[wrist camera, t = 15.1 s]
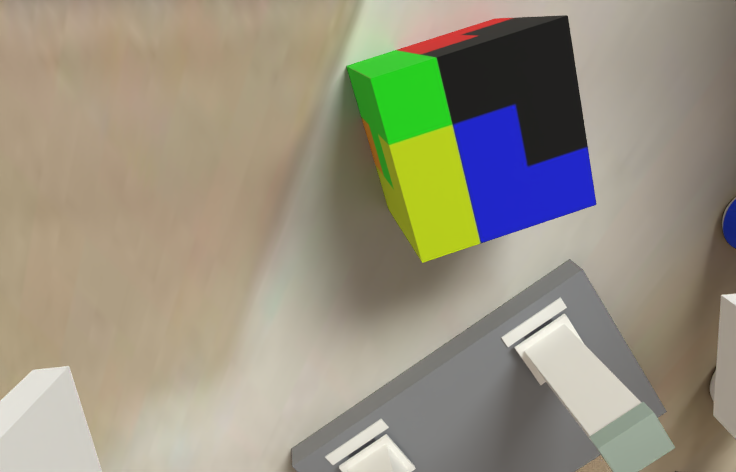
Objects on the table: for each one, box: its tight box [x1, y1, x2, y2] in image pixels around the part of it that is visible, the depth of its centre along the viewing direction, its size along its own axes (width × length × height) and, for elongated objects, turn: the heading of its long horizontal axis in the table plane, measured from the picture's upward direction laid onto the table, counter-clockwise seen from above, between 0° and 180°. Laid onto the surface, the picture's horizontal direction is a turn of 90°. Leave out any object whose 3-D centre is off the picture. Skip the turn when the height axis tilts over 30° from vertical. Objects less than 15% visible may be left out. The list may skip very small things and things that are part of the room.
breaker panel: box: [292, 259, 667, 472], centre depth 47 cm, size 16×26×2 cm, turn 125°
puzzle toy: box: [346, 16, 596, 263], centre depth 34 cm, size 10×10×10 cm
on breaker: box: [514, 314, 675, 472], centre depth 38 cm, size 4×4×11 cm
